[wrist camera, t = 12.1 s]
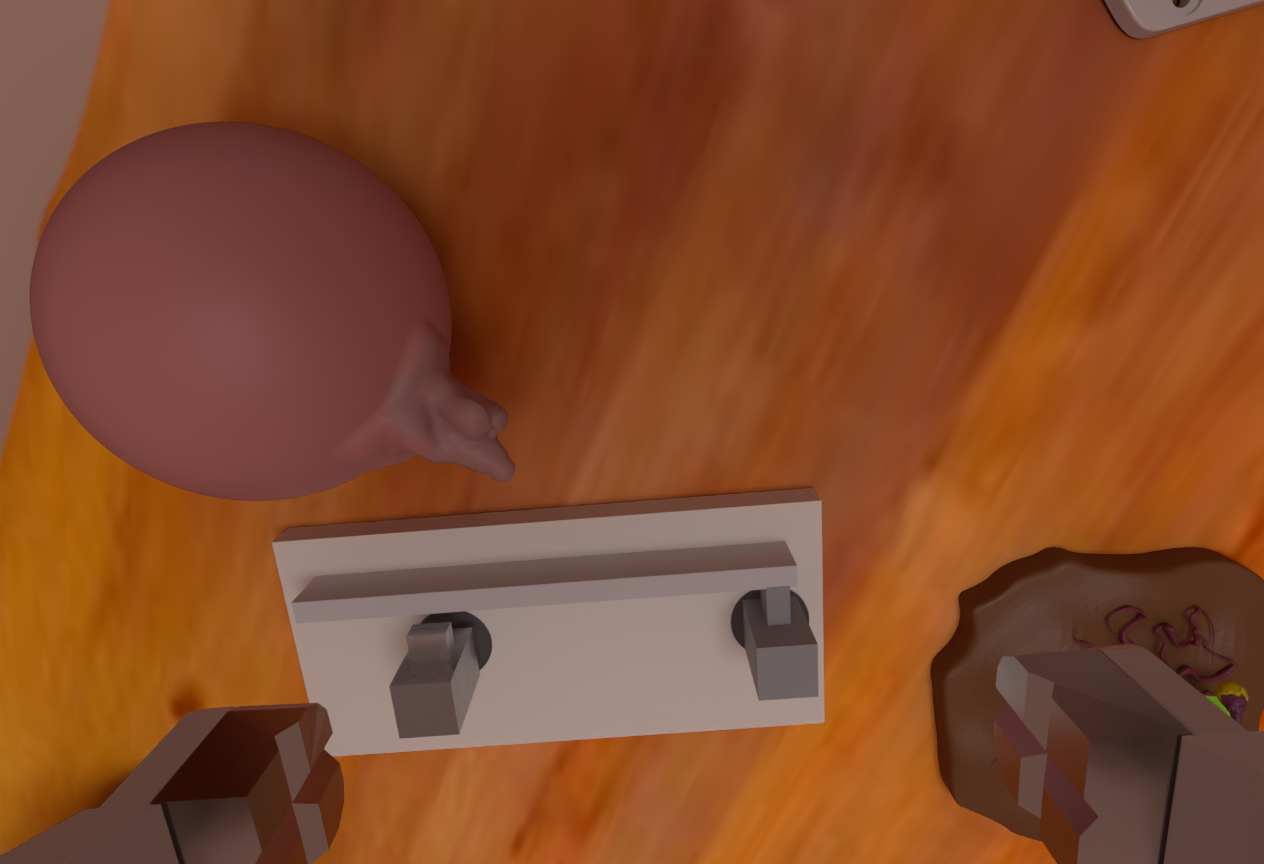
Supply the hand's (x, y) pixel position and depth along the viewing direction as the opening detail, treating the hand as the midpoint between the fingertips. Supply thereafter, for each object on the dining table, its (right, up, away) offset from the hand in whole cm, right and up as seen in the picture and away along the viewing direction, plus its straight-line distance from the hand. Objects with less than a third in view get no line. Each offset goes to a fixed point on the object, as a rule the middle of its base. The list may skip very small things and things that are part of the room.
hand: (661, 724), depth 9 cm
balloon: (-14, +9, +30) cm, 34 cm away
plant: (+28, -12, +36) cm, 47 cm away
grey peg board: (-5, -8, +34) cm, 35 cm away
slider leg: (-11, -8, +32) cm, 34 cm away
